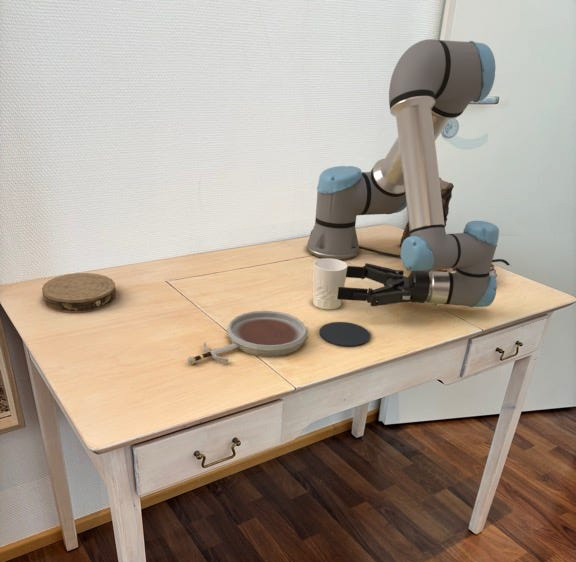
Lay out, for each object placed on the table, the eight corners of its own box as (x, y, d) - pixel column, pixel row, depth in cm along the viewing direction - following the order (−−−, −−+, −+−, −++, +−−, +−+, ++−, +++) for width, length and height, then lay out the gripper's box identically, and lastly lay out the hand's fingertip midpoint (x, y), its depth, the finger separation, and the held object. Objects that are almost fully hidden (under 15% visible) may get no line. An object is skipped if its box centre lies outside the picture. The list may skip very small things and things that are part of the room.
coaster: (360, 322, 132) (360, 320, 131) (377, 345, 123) (377, 343, 122) (313, 324, 129) (313, 323, 129) (327, 348, 120) (327, 346, 120)
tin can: (112, 282, 143) (111, 270, 142) (119, 308, 131) (118, 296, 129) (43, 287, 138) (41, 275, 136) (44, 316, 126) (42, 303, 124)
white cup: (338, 313, 135) (342, 272, 130) (306, 307, 137) (309, 267, 132) (346, 300, 141) (351, 261, 136) (315, 295, 143) (319, 256, 138)
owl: (419, 238, 186) (431, 173, 176) (454, 248, 179) (468, 182, 169) (397, 246, 178) (408, 179, 168) (432, 257, 171) (446, 188, 161)
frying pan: (164, 337, 115) (273, 302, 131) (165, 350, 117) (272, 313, 133) (213, 373, 105) (325, 330, 121) (213, 387, 106) (324, 343, 122)
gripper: (433, 325, 127) (337, 319, 127) (416, 282, 148) (333, 276, 148) (440, 293, 123) (340, 287, 123) (421, 253, 144) (336, 248, 144)
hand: (336, 281), depth 136 cm, fingers open, 13 cm apart
